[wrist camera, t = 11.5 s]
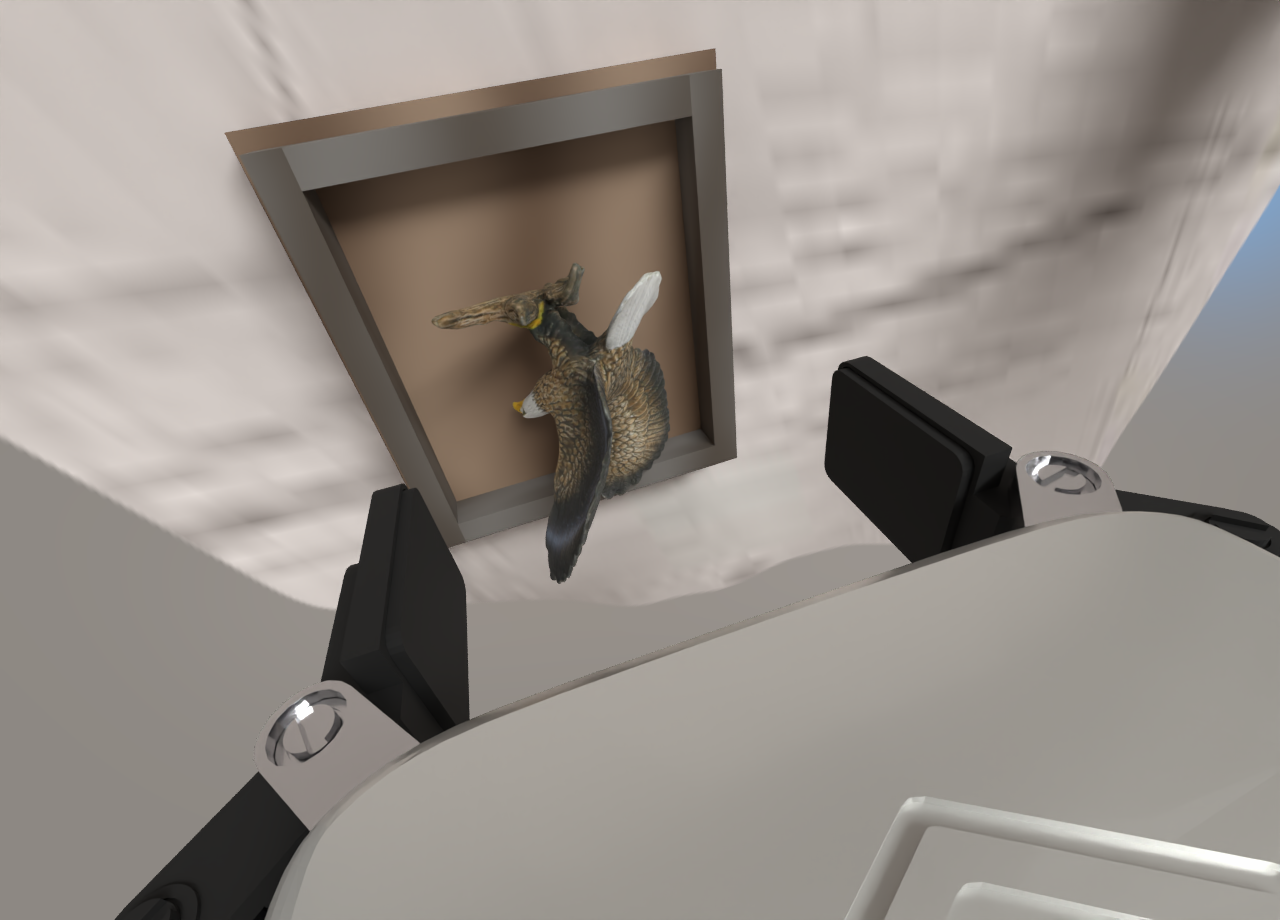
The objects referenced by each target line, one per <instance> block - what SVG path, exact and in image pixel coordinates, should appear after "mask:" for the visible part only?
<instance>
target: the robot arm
mask: <svg viewBox="0 0 1280 920" xmlns="http://www.w3.org/2000/svg"><path fill="white" fill-rule="evenodd" d="M1011 450H1012V447H1011V446H1009V445H1008V444H1006V443H1004V442H1003V441H1001V440H1000V439H998V438H997V437H995V436H993V435H992V434H990V433H989V432H987V431H986V430H984V429H982V428H981V427H979V426H978V425H976V424H975V423H973V422H971V421H970V420H968V419H967V418H965V417H963V416H962V415H960V414H959V413H957V412H956V411H954V410H952V409H951V408H949V407H948V406H946V405H945V404H943V403H941V402H940V401H938V400H937V399H935V398H934V397H932V396H930V395H929V394H927V393H926V392H924V391H923V390H921V389H919V388H918V387H916V386H915V385H913V384H912V383H910V382H908V381H907V380H905V379H904V378H902V377H901V376H899V375H897V374H896V373H894V372H893V371H891V370H890V369H888V368H886V367H885V366H883V365H882V364H880V363H879V362H877V361H875V360H874V359H872V358H871V357H868V356H864V357H860V358H856V359H853V360H849V361H846V362H843V363H841V364H840V365H839V367H838V370H837V371H835V372H834V374H833V377H832V386H831V397H830V408H829V419H828V430H827V441H826V452H825V470H826V473H827V475H828V477H829V478H830V479H831V481H832V482H833V483H834V484H835V485H836V486H837V487H838V488H839V489H840V490H841V491H842V492H843V493H844V494H845V495H846V496H847V497H848V498H849V499H850V500H851V501H852V502H853V503H854V504H855V505H856V506H857V507H858V508H859V509H860V510H861V511H862V512H863V513H864V514H865V515H866V516H867V517H868V518H869V519H870V520H871V522H872V523H873V524H874V525H875V526H876V527H877V528H878V529H879V530H880V531H881V532H882V533H883V534H884V535H885V536H886V537H887V538H888V539H889V540H890V541H891V542H892V543H893V544H894V545H895V546H896V547H897V548H898V549H899V550H900V551H901V552H902V553H903V554H904V555H905V556H906V557H907V558H908V559H909V560H910V561H911V562H912V563H911V564H908V565H905V566H902V567H899V568H896V569H893V570H890V571H887V572H884V573H881V574H879V575H875V576H872V577H869V578H866V579H863V580H861V581H858V582H855V583H852V584H849V585H846V586H843V587H840V588H837V589H834V590H831V591H828V592H826V593H822V594H820V595H817V596H814V597H811V598H808V599H805V600H802V601H799V602H796V603H793V604H790V605H788V606H785V607H782V608H779V609H776V610H773V611H770V612H767V613H765V614H761V615H759V616H756V617H753V618H750V619H747V620H745V621H741V622H738V623H736V624H733V625H730V626H727V627H724V628H721V629H718V630H715V631H712V632H709V633H706V634H704V635H701V636H698V637H695V638H692V639H690V640H687V641H684V642H681V643H678V644H675V645H672V646H670V647H667V648H664V649H661V650H658V651H655V652H652V653H650V654H647V655H644V656H641V657H638V658H635V659H632V660H629V661H627V662H624V663H621V664H618V665H615V666H612V667H610V668H607V669H604V670H601V671H598V672H596V673H592V674H590V675H587V676H584V677H581V678H579V679H576V680H573V681H570V682H567V683H565V684H562V685H559V686H557V687H554V688H551V689H548V690H546V691H543V692H540V693H538V694H535V695H533V696H530V697H527V698H524V699H521V700H519V701H516V702H513V703H511V704H508V705H505V706H502V707H500V708H498V709H495V710H492V711H490V712H488V713H485V714H483V715H480V716H478V717H476V718H473V719H471V720H470V719H469V687H468V686H469V684H468V653H467V652H468V649H467V615H466V589H465V584H464V580H463V577H462V575H461V573H460V571H459V569H458V567H457V565H456V563H455V561H454V559H453V557H452V555H451V553H450V551H449V549H448V547H447V545H446V543H445V541H444V539H443V537H442V535H441V533H440V531H439V529H438V527H437V525H436V523H435V521H434V519H433V517H432V515H431V513H430V511H429V509H428V507H427V505H426V503H425V502H424V500H423V498H422V496H421V494H420V492H419V490H418V489H417V488H412V489H408V488H407V486H406V485H405V484H399V485H396V486H392V487H388V488H385V489H381V490H378V491H375V492H373V495H372V499H371V504H370V509H369V514H368V519H367V524H366V529H365V534H364V539H363V545H362V550H361V555H360V560H359V563H358V564H354V565H351V566H349V567H348V568H347V570H346V572H345V575H344V579H343V584H342V588H341V593H340V597H339V602H338V606H337V611H336V616H335V620H334V625H333V629H332V634H331V638H330V643H329V647H328V652H327V656H326V661H325V665H324V670H323V675H322V679H321V682H320V683H316V684H313V685H311V686H309V687H307V688H305V689H303V690H301V691H299V692H297V693H296V694H294V695H293V696H292V697H290V698H289V699H288V700H286V701H285V702H284V703H283V704H282V705H281V706H280V707H279V708H278V709H277V710H276V711H275V712H274V713H273V714H272V715H271V716H270V717H269V719H268V720H267V722H266V723H265V725H264V726H263V728H262V730H261V731H260V733H259V736H258V739H257V741H256V744H255V747H254V762H255V764H256V767H257V769H258V773H256V774H255V776H254V777H253V778H252V779H251V780H250V781H249V782H248V783H247V784H246V785H245V786H244V787H243V788H242V789H241V790H240V791H239V792H238V793H237V794H236V795H235V796H234V797H233V798H232V799H231V800H230V801H229V802H228V803H227V804H226V805H225V806H224V807H223V808H222V809H221V810H220V811H219V812H218V813H217V814H216V815H215V816H214V817H213V818H212V819H211V820H210V822H208V823H207V825H205V827H204V828H202V830H201V831H200V832H199V833H198V834H197V835H196V836H195V837H194V838H193V839H192V840H191V841H190V842H189V843H188V844H187V845H186V846H185V847H184V848H183V849H182V850H181V851H180V852H179V853H178V854H177V855H176V856H175V857H174V858H173V859H172V860H171V861H170V862H169V863H168V864H167V865H166V866H165V867H164V868H163V869H162V870H161V871H160V872H159V873H158V874H157V875H156V876H155V877H154V878H153V880H152V881H151V882H150V883H149V884H148V885H147V886H146V887H145V888H144V889H143V890H142V891H141V892H140V893H139V894H138V895H137V896H136V897H135V898H134V899H133V900H132V901H131V902H130V903H129V904H128V905H127V906H126V907H125V908H124V909H123V911H122V912H121V913H120V914H119V915H118V916H117V917H116V919H115V920H1280V531H1279V530H1278V529H1276V528H1275V527H1273V526H1271V525H1269V524H1267V523H1265V522H1264V521H1263V520H1261V519H1259V518H1257V517H1255V516H1252V515H1250V514H1247V513H1244V512H1239V511H1234V510H1229V509H1225V508H1219V507H1213V506H1208V505H1202V504H1196V503H1190V502H1184V501H1178V500H1172V499H1167V498H1160V497H1155V496H1149V495H1143V494H1137V493H1132V492H1125V491H1120V490H1115V488H1114V485H1113V483H1112V480H1111V478H1110V477H1109V475H1108V474H1107V472H1105V471H1104V470H1103V469H1102V468H1100V467H1099V466H1098V465H1096V464H1094V463H1092V462H1090V461H1088V460H1086V459H1084V458H1081V457H1078V456H1075V455H1072V454H1067V453H1062V452H1056V451H1040V452H1033V453H1029V454H1027V455H1024V456H1022V457H1021V458H1020V459H1019V460H1018V461H1017V463H1016V462H1014V461H1013V460H1011V459H1010V458H1009V456H1010V453H1011Z"/></svg>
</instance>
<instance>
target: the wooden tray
mask: <svg viewBox="0 0 1280 920" xmlns="http://www.w3.org/2000/svg"><path fill="white" fill-rule="evenodd" d="M225 135H226V137H227V139H228V141H229V143H230V144H231V146H232V148H233V150H234V152H235V154H236V156H237V158H238V160H239V162H240V164H241V166H242V168H243V170H244V172H245V173H246V175H247V177H248V179H249V181H250V183H251V185H252V187H253V189H254V191H255V193H256V195H257V197H258V199H259V201H260V203H261V204H262V206H263V208H264V210H265V212H266V214H267V216H268V218H269V220H270V222H271V224H272V226H273V228H274V230H275V232H276V234H277V235H278V237H279V239H280V241H281V243H282V245H283V247H284V249H285V251H286V253H287V255H288V257H289V259H290V261H291V263H292V265H293V266H294V268H295V270H296V272H297V274H298V276H299V278H300V280H301V282H302V284H303V286H304V288H305V290H306V292H307V294H308V296H309V297H310V299H311V301H312V303H313V305H314V307H315V309H316V311H317V313H318V315H319V317H320V319H321V321H322V323H323V325H324V327H325V328H326V330H327V332H328V334H329V336H330V338H331V340H332V342H333V344H334V346H335V348H336V350H337V352H338V354H339V356H340V358H341V359H342V361H343V363H344V365H345V367H346V369H347V371H348V373H349V375H350V377H351V379H352V381H353V383H354V385H355V387H356V389H357V390H358V392H359V394H360V396H361V398H362V400H363V402H364V404H365V406H366V408H367V410H368V412H369V414H370V416H371V418H372V420H373V421H374V423H375V425H376V427H377V429H378V431H379V433H380V435H381V437H382V439H383V441H384V443H385V445H386V447H387V449H388V451H389V452H390V454H391V456H392V458H393V460H394V462H395V464H396V466H397V468H398V470H399V472H400V474H401V476H402V478H403V480H404V482H405V483H406V485H407V487H408V489H412V488H417V489H418V490H419V492H420V494H421V496H422V498H423V500H424V502H425V503H426V505H427V507H428V509H429V511H430V513H431V515H432V517H433V519H434V521H435V523H436V525H437V527H438V529H439V531H440V533H441V535H442V537H443V539H444V541H445V543H446V545H447V547H448V548H449V547H452V546H455V545H458V544H461V543H465V542H468V541H471V540H474V539H477V538H481V537H484V536H487V535H490V534H494V533H497V532H500V531H503V530H506V529H510V528H513V527H516V526H519V525H522V524H526V523H529V522H532V521H535V520H538V519H542V518H545V517H548V516H549V515H550V511H551V509H552V506H553V504H554V477H555V471H556V467H557V463H558V458H559V435H558V432H557V426H556V422H555V419H554V417H553V416H552V414H551V413H548V414H546V415H543V416H540V417H536V418H525V417H523V414H522V413H520V412H518V411H517V410H515V409H514V408H513V402H520V401H522V400H524V399H525V398H526V397H527V396H528V395H529V394H530V393H531V391H532V390H533V388H534V387H535V385H536V383H537V381H538V380H539V379H540V378H541V377H542V376H543V375H544V374H545V373H547V372H548V371H549V370H551V369H552V367H553V365H552V359H551V357H550V355H549V353H548V349H547V348H546V346H545V345H543V344H541V343H540V342H538V341H536V340H535V339H534V337H533V335H532V334H531V333H530V331H529V329H527V328H520V327H517V326H513V325H510V324H508V323H505V322H500V321H492V322H489V323H488V324H486V325H474V326H471V327H467V328H463V329H441V328H438V327H436V326H435V325H433V324H432V322H431V320H432V319H433V317H435V316H437V315H440V314H443V313H446V312H449V311H453V310H459V309H462V308H466V307H469V306H472V305H475V304H478V303H481V302H484V301H488V300H491V299H494V298H498V297H503V296H508V295H516V294H520V293H523V292H527V291H531V290H538V289H543V288H544V285H545V284H546V283H553V284H554V283H556V281H557V280H558V279H561V278H565V277H567V276H568V275H569V272H570V269H571V267H572V264H573V263H577V264H579V265H580V266H582V267H584V268H585V271H584V273H583V276H582V279H581V283H580V287H579V301H578V303H577V304H575V305H572V306H565V307H566V308H567V310H568V311H569V312H572V313H574V314H575V315H576V318H577V320H578V321H579V322H580V323H581V324H582V325H583V326H584V327H585V328H586V329H588V331H592V332H593V333H594V334H595V336H596V337H599V336H601V335H602V334H603V333H604V332H605V331H606V330H607V328H608V327H609V324H610V322H611V320H612V318H613V317H614V315H615V313H616V311H617V309H618V307H619V305H620V304H621V302H622V300H623V298H624V297H625V295H626V294H627V293H628V292H629V291H630V290H631V289H632V288H633V287H634V285H635V284H636V283H637V282H638V281H639V280H640V278H641V277H642V276H643V275H644V274H646V273H650V272H655V271H658V272H660V274H661V277H662V279H661V283H660V285H659V291H658V292H659V293H658V298H657V299H656V301H655V303H654V304H653V306H652V307H651V308H650V309H649V310H648V311H647V312H646V313H645V314H644V315H643V317H642V319H641V321H640V323H639V325H638V327H637V329H636V331H635V334H634V336H633V341H632V346H633V348H634V349H635V348H640V349H641V350H642V351H643V350H644V349H648V350H649V352H652V353H654V355H655V359H656V361H657V362H659V363H660V367H661V369H662V371H663V374H664V379H665V386H664V389H665V390H666V392H667V401H668V406H667V408H668V409H669V417H670V420H669V424H670V431H669V432H668V440H667V441H666V442H665V443H664V444H665V446H664V450H663V451H662V452H661V456H660V457H659V458H658V459H656V460H654V461H653V465H652V468H651V469H650V470H644V471H643V475H642V478H641V480H640V482H639V483H638V484H637V485H630V487H629V488H628V490H627V492H628V491H632V490H635V489H638V488H641V487H644V486H648V485H651V484H654V483H657V482H660V481H664V480H667V479H670V478H673V477H676V476H680V475H683V474H686V473H689V472H693V471H696V470H699V469H702V468H705V467H709V466H712V465H715V464H718V463H721V462H725V461H728V460H731V459H734V458H737V449H736V423H735V397H734V372H733V346H732V320H731V295H730V269H729V243H728V218H727V192H726V166H725V141H724V115H723V89H722V69H716V53H715V49H709V50H703V51H697V52H692V53H686V54H680V55H674V56H668V57H663V58H657V59H651V60H645V61H639V62H633V63H628V64H622V65H616V66H610V67H604V68H599V69H593V70H587V71H581V72H575V73H569V74H564V75H558V76H552V77H546V78H540V79H535V80H529V81H523V82H517V83H511V84H506V85H500V86H494V87H488V88H482V89H476V90H471V91H465V92H459V93H453V94H447V95H442V96H436V97H430V98H424V99H418V100H412V101H407V102H401V103H395V104H389V105H383V106H378V107H372V108H366V109H360V110H354V111H349V112H343V113H337V114H331V115H325V116H319V117H314V118H308V119H302V120H296V121H290V122H285V123H279V124H273V125H267V126H261V127H255V128H250V129H244V130H238V131H232V132H226V133H225ZM559 307H563V306H559ZM615 495H617V494H614V496H615ZM603 499H606V498H604V497H603V496H602V494H601V497H600V500H603Z"/></svg>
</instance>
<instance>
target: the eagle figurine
mask: <svg viewBox="0 0 1280 920" xmlns="http://www.w3.org/2000/svg"><path fill="white" fill-rule="evenodd" d="M584 271H585V268H584V267H582V266H580V265H579V264H577V263H573V264H572V267H571V269H570V272H569V275H568V276H567V277H565V278H561V279H558V280H557V281H556V283H554V284H553V283H546V284H545V285H544V288H543V289H538V290H531V291H527V292H523V293H520V294H516V295H508V296H503V297H498V298H494V299H491V300H488V301H484V302H481V303H478V304H475V305H472V306H469V307H466V308H462V309H459V310H453V311H449V312H446V313H443V314H440V315H437V316H435V317H433V319H432V320H431V322H432V324H433V325H435V326H436V327H438V328H441V329H463V328H467V327H471V326H474V325H486V324H488V323H489V322H492V321H500V322H505V323H508V324H510V325H513V326H517V327H520V328H527V329H529V331H530V333H531V334H532V335H533V337H534V339H535V340H536V341H538V342H540V343H541V344H543V345H545V346H546V348H547V349H548V353H549V355H550V357H551V359H552V365H553V367H552V369H551V370H549V371H548V372H547V373H545V374H544V375H543V376H542V377H541V378H540V379H539V380H538V381H537V383H536V385H535V387H534V388H533V390H532V391H531V393H530V394H529V395H528V396H527V397H526V398H525V399H524V400H522V401H520V402H513V408H514V409H515V410H517V411H518V412H520V413H522V414H523V417H525V418H536V417H540V416H543V415H546V414H548V413H551V414H552V416H553V417H554V419H555V422H556V426H557V432H558V435H559V458H558V463H557V467H556V471H555V477H554V504H553V506H552V509H551V511H550V515H549V519H548V526H547V531H546V548H547V550H548V561H549V568H550V577H551V579H552V580H557V583H558V584H561V582H562V581H563V582H565V581H566V578H569V577H570V576H571V573H572V570H573V567H574V566H575V565H576V563H577V559H578V556H579V555H580V554H581V550H582V546H583V545H584V544H585V542H586V539H587V535H588V531H589V529H590V527H591V524H592V521H593V519H594V516H595V513H596V510H597V506H598V504H599V501H600V497H601V494H602V496H603V497H604V498H606V499H611V498H612V497H613V496H614V494H617V495H623V494H624V493H626V492H627V490H628V488H629V487H630V485H637V484H638V483H639V482H640V480H641V478H642V475H643V471H644V470H650V469H651V468H652V465H653V461H654V460H656V459H658V458H659V457H660V456H661V452H662V451H663V450H664V446H665V444H664V443H665V442H666V441H667V440H668V432H669V431H670V424H669V420H670V417H669V409H668V408H667V406H668V401H667V392H666V390H665V389H664V386H665V379H664V374H663V371H662V369H661V367H660V363H659V362H657V361H656V359H655V355H654V353H652V352H649V350H648V349H644V350H643V351H642V350H641V349H640V348H635V349H634V348H633V346H632V341H633V336H634V334H635V331H636V329H637V327H638V325H639V323H640V321H641V319H642V317H643V315H644V314H645V313H646V312H647V311H648V310H649V309H650V308H651V307H652V306H653V304H654V303H655V301H656V299H657V298H658V293H659V292H658V291H659V285H660V283H661V279H662V277H661V274H660V272H658V271H655V272H650V273H646V274H644V275H643V276H642V277H641V278H640V280H639V281H638V282H637V283H636V284H635V285H634V287H633V288H632V289H631V290H630V291H629V292H628V293H627V294H626V295H625V297H624V298H623V300H622V302H621V304H620V305H619V307H618V309H617V311H616V313H615V315H614V317H613V318H612V320H611V322H610V324H609V327H608V328H607V330H606V331H605V332H604V333H603V334H602V335H601V336H599V337H596V336H595V334H594V333H593V332H592V331H588V329H586V328H585V327H584V326H583V325H582V324H581V323H580V322H579V321H578V320H577V318H576V315H575V314H574V313H572V312H569V311H568V310H567V308H566V307H565V306H572V305H575V304H577V303H578V301H579V287H580V283H581V279H582V276H583V273H584ZM559 306H563V307H559Z"/></svg>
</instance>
